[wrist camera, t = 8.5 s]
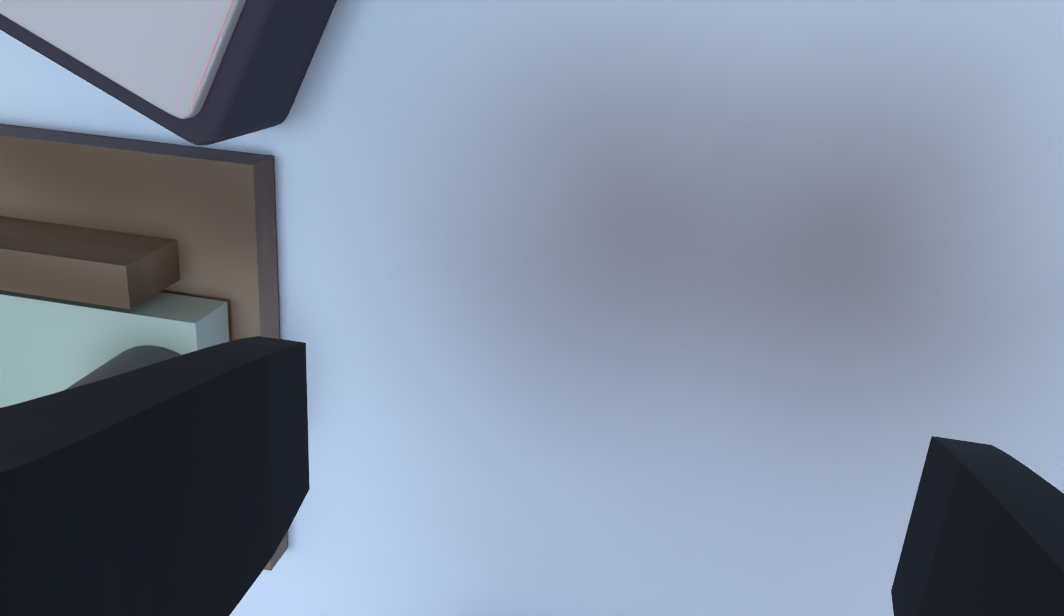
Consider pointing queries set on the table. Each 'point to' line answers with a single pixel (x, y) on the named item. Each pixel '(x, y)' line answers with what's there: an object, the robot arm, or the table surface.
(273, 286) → the base
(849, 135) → the table surface
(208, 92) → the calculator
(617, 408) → the table surface
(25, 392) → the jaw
